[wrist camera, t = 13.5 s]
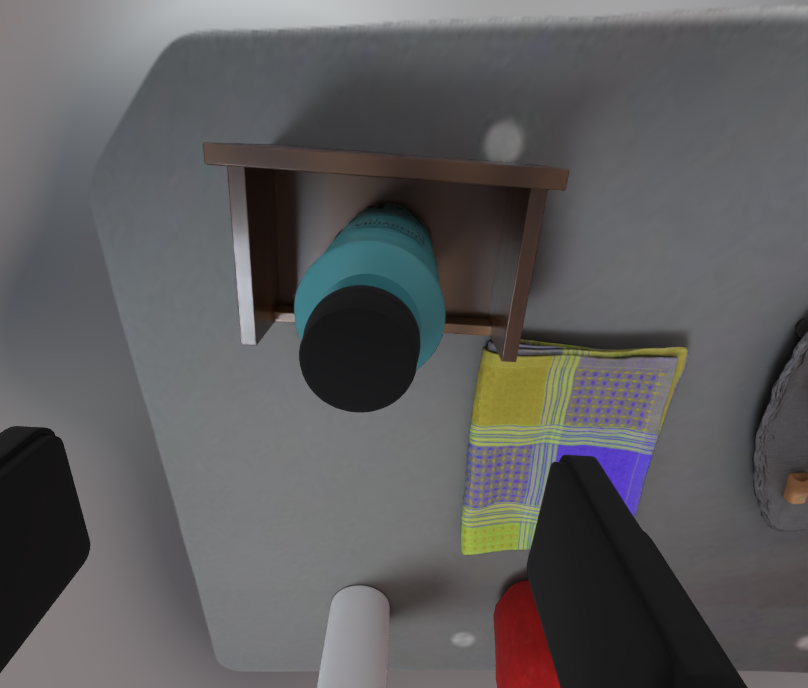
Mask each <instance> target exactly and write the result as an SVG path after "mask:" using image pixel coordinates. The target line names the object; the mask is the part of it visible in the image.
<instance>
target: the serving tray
mask: <svg viewBox="0 0 808 688" xmlns="http://www.w3.org/2000/svg"><path fill="white" fill-rule="evenodd" d="M795 329H796V331H797V333H798V336H799V337H800V338H801V340H800V342H799V343H798V344H797V346H796V347H795V348H794V350H793V352H792V356H791V358H790V360H789V361H788V362H787V363H786V365H785V366H784V368H783V370H782V371H781V373H780V375H779V377H778V379H777V380H776V382H775V384H774V386H773V388H772V392H771V397H770V399H769V401H768V404H767V406H766V409H765V411H764V414H763V416H762V419H761V421H760V424H759V426H758V430H757V434H756V438H755V445H754V455H753V462H754V480H753V485H754V491H755V495H756V497H757V499H758V502H757V504H758V506H759V507H760V509H761V516H762V517H763V519H764V521H765V522H766V524H767V525H768V526H769V527H771V528H772V529H775V530H778V531H798V530H808V318H803V319H801V320H800V321H798V323H797V324H796V328H795Z"/></svg>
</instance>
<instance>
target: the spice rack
mask: <svg viewBox="0 0 808 688" xmlns="http://www.w3.org/2000/svg"><path fill="white" fill-rule="evenodd" d="M203 151H204V161H205V164H207V165H219V166H227V171H228V184H229V196H230V209H231V221H232V234H233V246H234V259H235V271H236V284H237V296H238V308H239V321H240V333H241V344H243V345H257V344H258V343H259V341H260V340H261V339H262V337H263V336H264V335H265V334H266V332H267V331H268V330H269V328H270V327H271V326H272V324H273V323H274V322H289V323H295V316H294V304H295V296H296V293H297V289H298V287H299V284H300V282H301V280H302V278H303V276H304V275H305V273H306V271H307V270H308V269H309V268H310V266H311V265H312V264H313V263H314V262H315V261H316V260H317V259H318V258H319V256H322V255H323V254H324V253H325V251H326V250H327V248H328V247H329V246H330V245H331V243H332V242H333V240H335V239H336V238H335V237H334V238H335V239H334V238H333V236H334V235H335V236H336V234H338V233H339V231H340V230H341V229H342V230H343V229H344V227H346V226H347V225H348V224H349V222H350V221H351V220H352V219H353V218H354V217H355V216H356V215H357V214H358V213H360V212H361V211H363V210H364V209H366V208H365V207H368V205H369V206H370V205H371V206H374V205H377V204H379V203H380V202H381V203H382V202H384V203H385V202H386V203H385V204H394V205H398V206H402V205H403V207H404V205H405V208H407V207H408V208H407V209H409V210H411V211H413V213H414V214H415V215H417V216H418V217H419V218H421V221H422V222H423V223H424V221H425V223H424V225H425V226H426V225H427V226H426V228H427V227H428V228H429V230H430V233H431V235H430V238H431V236H432V238H431V241H432V246H433V251H434V256H435V253H436V256H435V258H436V263H437V266H439V267H437V271H438V276H439V284H440V285H439V286H440V289H441V291H442V295H443V298H444V304H445V326H444V331H443V333H455V334H470V335H485V336H491V339H492V341H493V343H494V345H495V348H496V350H497V352H498V355H499V357H500V359H501V361H503V362H516V360H517V355H518V349H519V344H520V339H521V333H522V328H523V322H524V317H525V311H526V306H527V301H528V295H529V290H530V284H531V279H532V274H533V268H534V263H535V257H536V252H537V246H538V241H539V236H540V230H541V225H542V219H543V214H544V208H545V203H546V198H547V192H548V190H561V191H564V190H565V189H566V185H567V180H568V175H569V170H568V169H561V168H553V167H546V166H538V165H530V164H523V163H514V162H501V161H487V160H474V159H460V158H447V157H433V156H420V155H406V154H393V153H379V152H366V151H353V150H339V149H326V148H312V147H299V146H285V145H272V144H238V143H203ZM376 202H377V203H376ZM387 202H389V203H387ZM390 202H391V203H390ZM395 203H396V204H395ZM361 208H362V210H361ZM410 208H411V209H410ZM358 211H359V212H358ZM357 212H358V213H357ZM416 213H417V214H416ZM351 216H352V217H351ZM349 219H350V220H349ZM348 220H349V221H348ZM345 223H346V225H345ZM426 223H427V224H426ZM428 228H427V230H428ZM342 230H341V232H342ZM429 230H428V232H429ZM430 233H429V234H430ZM432 239H433V240H432ZM433 242H434V243H433ZM328 244H329V245H328ZM326 247H327V248H326ZM325 249H326V250H325ZM437 259H438V260H437ZM438 262H439V264H438ZM439 269H440V272H439ZM441 286H442V287H441Z"/></svg>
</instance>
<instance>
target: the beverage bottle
mask: <svg viewBox="0 0 808 688" xmlns="http://www.w3.org/2000/svg"><path fill="white" fill-rule="evenodd" d="M376 203H377V202H376ZM385 203H386V202H385ZM385 203H384V202H382V203H381V202H380V203H379V204H377V205H374V206H371V205H370V206H369V205H368V207H365V208H366V209H364V210H363V211H361V212H360V213H358V212H359V211H358V212H357V213H358V214H357V215H356V216H355V217H354V218H353V219H352V220H351V221H350V222H349V224H348V225H347V226H346V227H344V229H343V230H342V229H341V230H342V232H341V230H340V231H339V233H338V234H336V236H335V235H334V236H333V238H334V237H335V238H336V239H335V238H334V239H335V240H333V242H332V243H331V245H330V246H329V247H328V248H327V247H326V248H327V250H326V249H325V250H326V251H325V253H324V254H323V255H322V256H319V258H318V259H317V260H316V261H315V262H314V263H313V264H312V265H311V266H310V268H309V269H308V270H307V271H306V273H305V275H304V276H303V278H302V280H301V282H300V284H299V287H298V289H297V293H296V296H295V304H294V316H295V323H296V327H297V330H298V334H299V336H300V338H301V340H302V341H301V344H300V351H299V361H300V367H301V370H302V374H303V376H304V378H305V381H306V382H307V384H308V386H309V387H310V388H311V390H312V391H313V392H314V393H315V394H316V395H317V396H318V397H319V398H320V399H321V400H323V401H324V402H326V403H327V404H329V405H331V406H333V407H335V408H338V409H341V410H345V411H350V412H371V411H375V410H379V409H382V408H384V407H387V406H389V405H390V404H392V403H394V402H395V401H396V400H398V399H399V398H400V397H401V396H402V395H403V394H404V393H405V392H406V390H407V389H408V388H409V386H410V385H411V383H412V381H413V379H414V376H415V373H416V370H417V369H418V368H420V367H421V366H422V365H423V364H424V363H425V362H426V361H427V360H428V359H429V358H430V357H431V355H432V354H433V353H434V352H435V350H436V348H437V346H438V345H439V342H440V340H441V338H442V335H443V331H444V326H445V304H444V298H443V295H442V291H441V289H440V286H439V285H440V284H439V276H438V271H437V267H439V266H437V263H436V258H435V256H436V253H435V256H434V251H433V246H432V241H431V238H432V236H431V238H430V235H431V233H430V230H429V228H428V227H427V228H428V230H429V232H428V230H427V228H426V226H427V225H426V226H425V225H424V223H425V221H424V223H423V222H422V221H421V218H419V217H418V216H417V215H415V214H414V213H413V211H411V210H409V209H407V208H408V207H407V208H405V205H404V207H403V205H402V206H398V205H394V204H385ZM387 203H389V202H387ZM390 203H391V202H390ZM395 204H396V203H395ZM410 209H411V208H410ZM361 210H362V208H361ZM416 214H417V213H416ZM351 217H352V216H351ZM349 220H350V219H349ZM349 220H348V221H349ZM426 224H427V223H426ZM345 225H346V223H345ZM429 233H430V234H429ZM432 240H433V239H432ZM433 243H434V242H433ZM328 245H329V244H328ZM437 260H438V259H437ZM438 264H439V262H438ZM439 272H440V269H439ZM441 287H442V286H441Z"/></svg>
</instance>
